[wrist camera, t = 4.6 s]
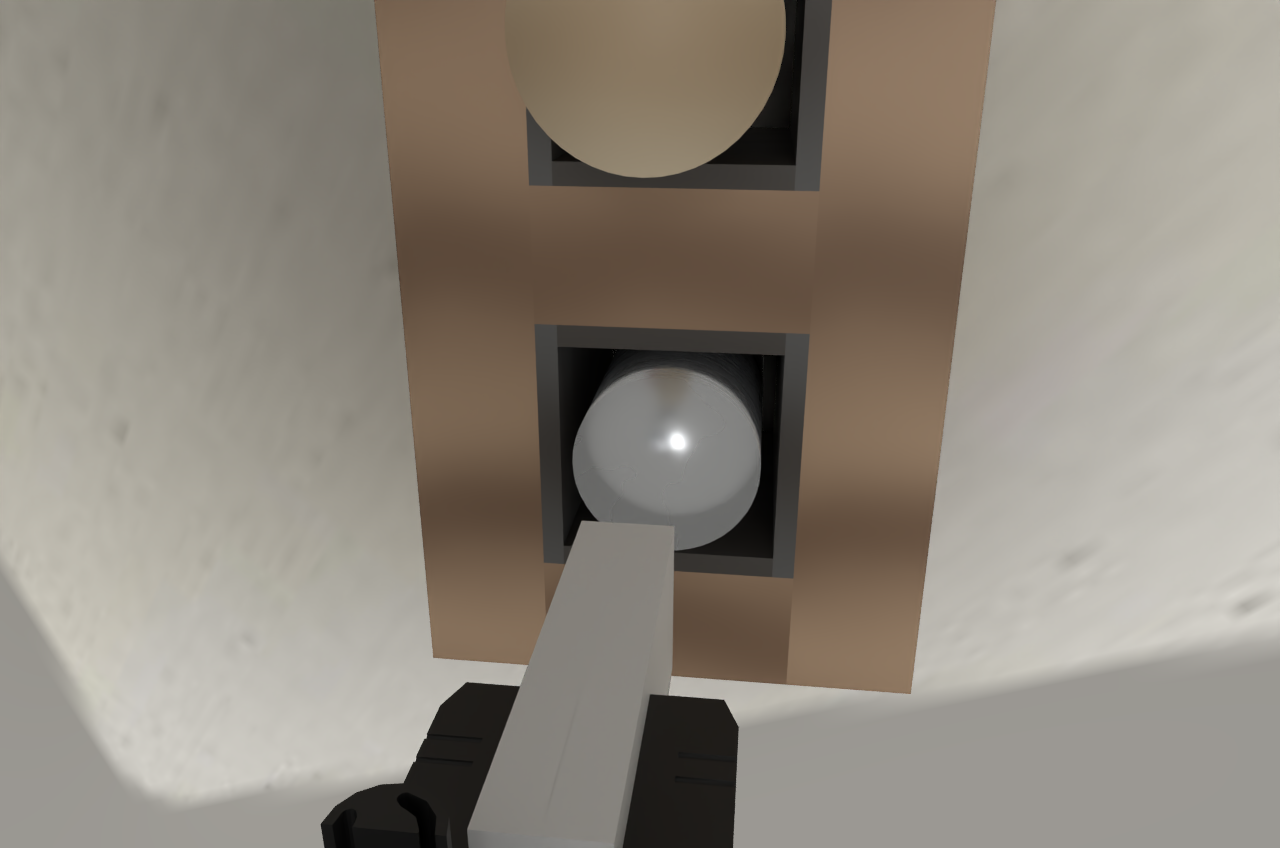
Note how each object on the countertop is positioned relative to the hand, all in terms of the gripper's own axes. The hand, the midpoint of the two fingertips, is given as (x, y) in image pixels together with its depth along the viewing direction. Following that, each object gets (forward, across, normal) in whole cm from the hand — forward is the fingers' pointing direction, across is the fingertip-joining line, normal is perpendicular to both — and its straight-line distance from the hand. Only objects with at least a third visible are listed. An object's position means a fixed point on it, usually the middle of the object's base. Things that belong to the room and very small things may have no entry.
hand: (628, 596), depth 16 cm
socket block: (+15, 0, +4) cm, 15 cm away
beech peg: (+10, 0, +8) cm, 13 cm away
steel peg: (+14, 0, -1) cm, 14 cm away
